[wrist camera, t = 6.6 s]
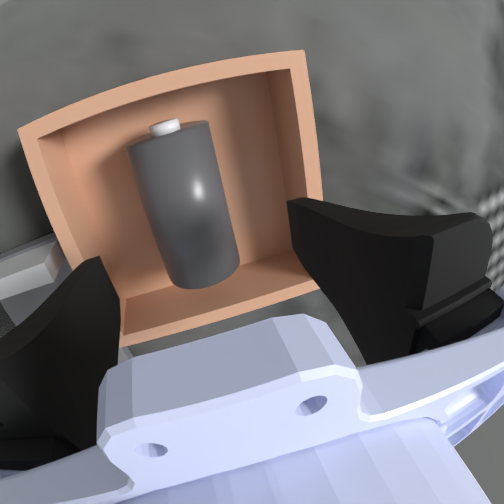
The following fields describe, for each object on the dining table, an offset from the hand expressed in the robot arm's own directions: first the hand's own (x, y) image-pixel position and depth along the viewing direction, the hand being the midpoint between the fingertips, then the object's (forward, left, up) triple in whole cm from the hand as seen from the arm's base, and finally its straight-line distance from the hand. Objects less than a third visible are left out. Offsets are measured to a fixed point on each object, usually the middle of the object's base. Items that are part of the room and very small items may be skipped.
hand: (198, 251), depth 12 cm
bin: (0, 0, -7) cm, 7 cm away
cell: (0, 0, -5) cm, 5 cm away
